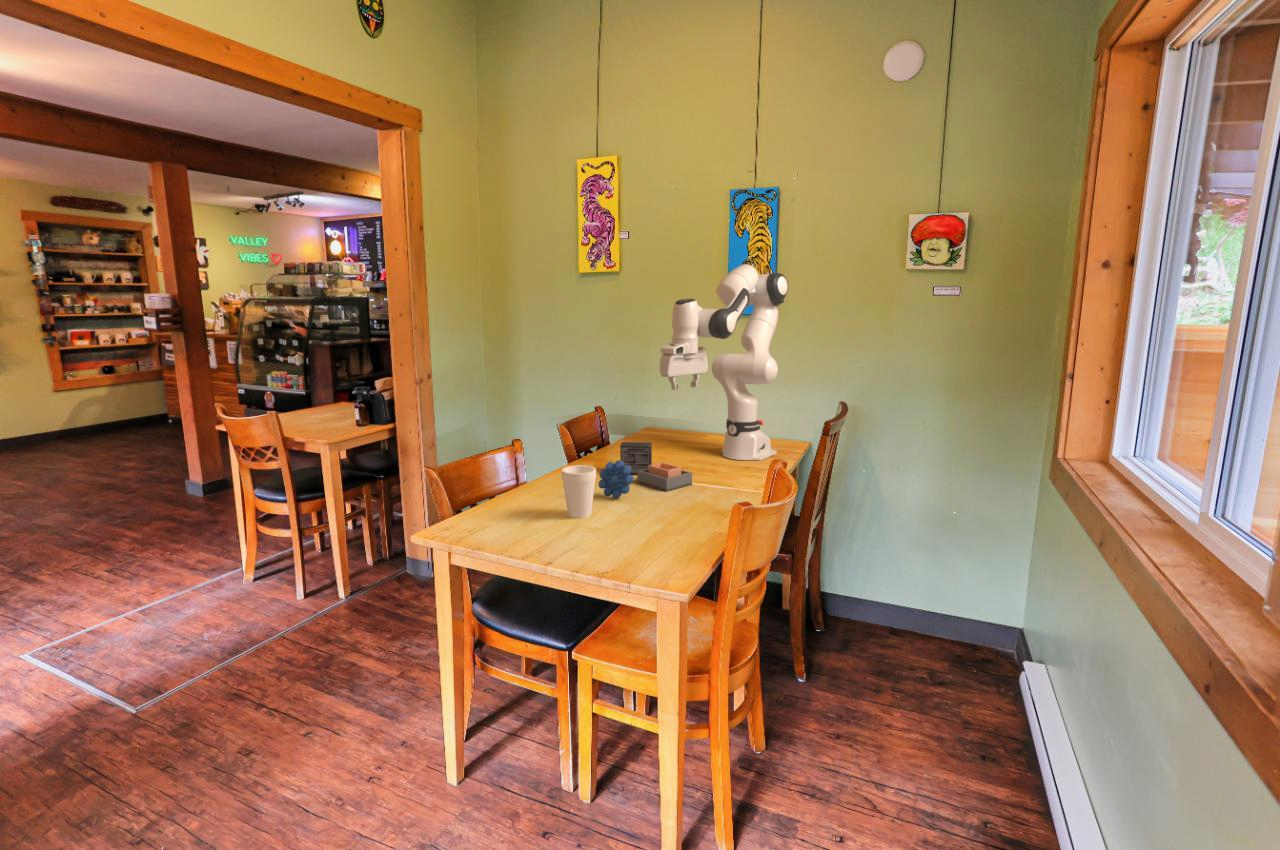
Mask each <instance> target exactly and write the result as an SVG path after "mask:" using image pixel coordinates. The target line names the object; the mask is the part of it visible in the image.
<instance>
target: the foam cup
mask: <svg viewBox="0 0 1280 850" xmlns="http://www.w3.org/2000/svg"><path fill="white" fill-rule="evenodd" d="M596 479H597V468H596V467H595V466H591V465H585V464H583V465H582V464H576V465H575V464H574V465H569V466H566V467H565V466H564V467H562V469H561V480H562V485H563V490H564V496H565V502H566V503H565V504H566V509H567V514H568V516H569V517H570V518H572V519H585V518H589V517H591V515H592V512H593V511H592V510H593V504H594V503H593V502H594V494H595V484H596Z"/></svg>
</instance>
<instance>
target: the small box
mask: <svg viewBox="0 0 1280 850" xmlns="http://www.w3.org/2000/svg"><path fill="white" fill-rule="evenodd" d="M619 447H620V450H619V451H620V455H619V456H620V459H619V460H621V461H623V463H624V466H626V465H628V466H630V467H631V473H630V474H629V475H632V476H637V471H639V470H643V469H647V468H649V465H652V464H653V462H652V461H653V457H652V456H653V454H652V452H653V451H652V448H653V447H652V442H650V441H649V442H648V441H647V442H641V441H638V442H637V441H636V442H634V441H633V442H631V441H622V442H621V443H620V446H619Z"/></svg>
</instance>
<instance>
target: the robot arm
mask: <svg viewBox="0 0 1280 850" xmlns="http://www.w3.org/2000/svg"><path fill="white" fill-rule="evenodd" d="M788 283H789V282H788V280H787V278H786V276H785V275H784V274H783V273H779V272H770V273H763V274H759V273H758V270H757V269H756V267H754V266H753V265H750V264H747V263H745V264H741V265H739V266H737V267H735V268H733V269H732V270H731V271H730V272H729V273H727V274H726V275H725V276H724V277H723V278H722V279H721V280H720V281H719V284H718V286H717V295H718V298H719V300H720V301H721V303H723V304H724V305H725V306H726V307H724V308H703V307H702V306H700V305H699V304H698V301H697V299H695V298H682V299H677V300H676V301H675V302H674V303H673V308H672V317H671V328H672V331H673V333H672V336H671V337H672V338H671V342H669V343H667V344H666V345H664V346H662V347H660V354H661V356H660V359H659V373H660V375H661V377H664V378H668V381H669V383H670V385H671V387H670V389H671V390H673V391H676V390H678V389H679V384H677V382H676V380H677V377H682V376H692V377H693V378H692V381H690V387H691V388H697V387H698V381H699V379H700V376H701V374H707V372H708V370H709V363H708V355H707V350H706V349H705V347H703V346H699V338H715V339H720V340H721V339H722V340H726V339H728V338H729V337H731V335H733V333H734V332H735V330H736V326H737V324H738V322H739V320H740V319H741V317H742V315H743V314H744V313H745V311H746V309H747V308H748V307H749V306H753V311H752V312H751V313H750V316H749V318H748V319H747V322H746V324H745V326H744V329H743V332H742V334H741V336H740V343H741V346H742V347H743V348H744V349H745V351H747V353H733V352H732V353H730V352H729V353H723V354H718V355H716V356H715V358H714V359H713V361H712V363H711V373H712V376H713V377H714V379H716V380H717V381H718V382H719V383H720V385H721V386H722V388H723V390H724V392H725V395H726V399H727V418H726V423H725V424H726V426H725V427H726V428H725V429H726V432H725V434H724V441H723V448H722V449H721V453H722V454H721V455H722V456H723V457H724V458H726V459H731V460H740V461H763V460H765V459H768V458H769V457H772V456H773V455H776V454H778V451H777V450H775V448H771V447H772V446H771V439H770V437H769V436H768V435H767V434H766V433H765V432H764V431H762V429H761V428H760V427H761V426H764V424H765V420H764V419H759V420H758V405H759V404H758V399H757V397H756V396H755V395H754V394H752V393H750V392H749V391H748V389H747V387H746V385H755V386H758V385H768V384H772V383H773V382H774V381H775V380H776V378H777V376H778V374H779V373H778V372H779V367H778V363H777V361H776V359H775V358H774V357H772V355H771V352H770V345H771V343H772V339H773V336H774V335H775V331H776V328H777V326H778V325H777V324H778V321H779V309H778V307H779V306H780V305H782V304H783V301H784V300H785V298H786V296H787V295H788V291H789V284H788Z"/></svg>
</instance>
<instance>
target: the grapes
mask: <svg viewBox="0 0 1280 850" xmlns="http://www.w3.org/2000/svg"><path fill="white" fill-rule="evenodd" d="M630 473H631V467H630V466H628V465H626V466H624V463H623V461H621V460H620V459H618V460H616V461H615V462H613V461H608V462H607V463H606V464H605V467H604V468H602V469H601V470H600V471H599V475H598V476H599V478H600V480H599V481H598V487H599V488H600V489H603V495H604V496H605V497H610V496H611V497H613V498H614V499H619V498H621V496H622V494H624V495H626V494H628V493H629V492H630V489H631V487H630V485H632V484H633V483H634V480H635V479H634V475H629V474H630Z"/></svg>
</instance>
